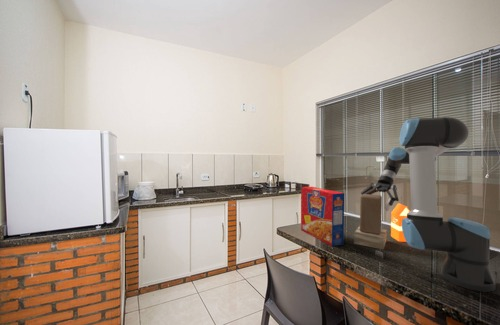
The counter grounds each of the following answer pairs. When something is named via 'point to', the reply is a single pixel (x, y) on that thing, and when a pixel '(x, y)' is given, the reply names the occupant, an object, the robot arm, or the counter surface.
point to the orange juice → (398, 222)
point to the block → (370, 213)
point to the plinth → (370, 239)
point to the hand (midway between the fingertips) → (373, 207)
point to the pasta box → (323, 215)
